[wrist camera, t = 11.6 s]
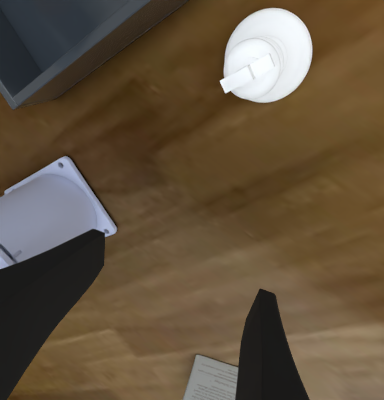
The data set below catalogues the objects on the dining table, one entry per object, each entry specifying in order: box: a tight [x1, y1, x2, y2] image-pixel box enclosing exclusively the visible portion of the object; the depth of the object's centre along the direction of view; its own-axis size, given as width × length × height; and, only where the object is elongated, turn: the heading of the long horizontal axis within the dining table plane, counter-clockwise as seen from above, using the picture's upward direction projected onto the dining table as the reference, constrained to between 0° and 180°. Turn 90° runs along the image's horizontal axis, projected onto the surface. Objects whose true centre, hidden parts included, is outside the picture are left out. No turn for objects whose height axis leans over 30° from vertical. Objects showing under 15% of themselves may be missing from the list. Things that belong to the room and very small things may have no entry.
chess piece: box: [220, 8, 312, 103], centre depth 13 cm, size 5×5×10 cm
